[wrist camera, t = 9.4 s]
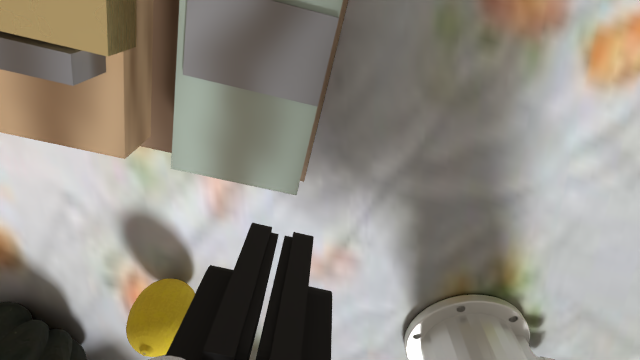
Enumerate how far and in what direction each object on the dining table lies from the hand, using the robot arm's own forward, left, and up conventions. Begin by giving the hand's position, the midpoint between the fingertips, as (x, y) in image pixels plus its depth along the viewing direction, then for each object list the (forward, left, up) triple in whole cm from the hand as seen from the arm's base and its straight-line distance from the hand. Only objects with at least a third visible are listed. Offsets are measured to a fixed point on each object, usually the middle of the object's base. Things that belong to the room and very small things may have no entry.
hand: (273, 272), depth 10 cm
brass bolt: (+13, -4, -14) cm, 19 cm away
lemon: (+8, +22, -20) cm, 31 cm away
